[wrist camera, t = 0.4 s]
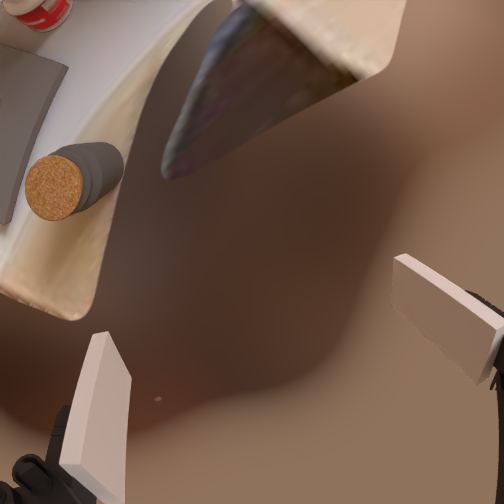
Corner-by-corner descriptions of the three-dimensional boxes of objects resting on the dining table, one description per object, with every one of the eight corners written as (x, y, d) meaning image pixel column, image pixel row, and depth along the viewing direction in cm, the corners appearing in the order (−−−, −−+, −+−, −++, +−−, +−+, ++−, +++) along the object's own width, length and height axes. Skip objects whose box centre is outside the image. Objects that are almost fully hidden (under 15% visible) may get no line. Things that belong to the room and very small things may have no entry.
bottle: (102, 202, 34) (59, 244, 20) (67, 171, 31) (6, 195, 18) (134, 163, 33) (104, 182, 19) (98, 131, 31) (47, 130, 17)
